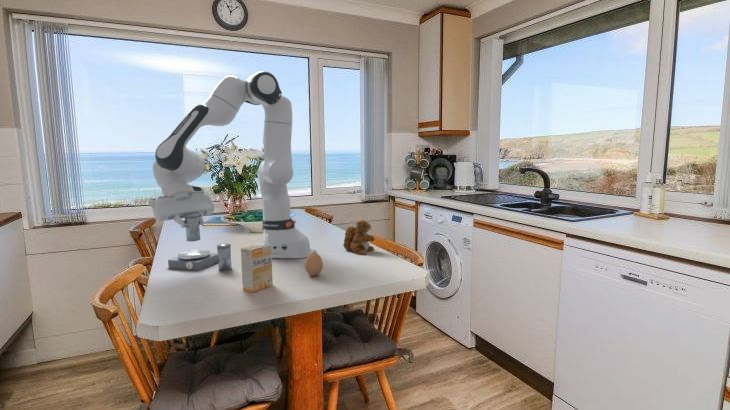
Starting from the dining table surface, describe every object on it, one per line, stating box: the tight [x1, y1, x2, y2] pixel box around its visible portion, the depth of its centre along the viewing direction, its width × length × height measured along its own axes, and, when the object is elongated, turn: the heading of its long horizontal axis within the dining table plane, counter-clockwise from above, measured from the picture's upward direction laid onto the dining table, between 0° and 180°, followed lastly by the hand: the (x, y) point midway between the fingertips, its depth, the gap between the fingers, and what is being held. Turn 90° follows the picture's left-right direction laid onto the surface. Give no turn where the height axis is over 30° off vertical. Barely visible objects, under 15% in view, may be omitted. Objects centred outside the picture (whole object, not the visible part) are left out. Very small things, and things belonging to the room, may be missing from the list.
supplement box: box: [240, 242, 274, 293], centre depth 116 cm, size 8×5×13 cm, turn 148°
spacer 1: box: [184, 213, 201, 242], centre depth 132 cm, size 5×5×9 cm
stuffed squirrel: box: [342, 219, 375, 256], centre depth 160 cm, size 10×14×13 cm
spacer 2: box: [216, 242, 233, 272], centre depth 136 cm, size 5×5×9 cm
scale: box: [167, 252, 218, 271], centre depth 143 cm, size 13×13×3 cm
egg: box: [304, 252, 324, 277], centre depth 128 cm, size 6×6×8 cm
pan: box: [177, 249, 211, 260], centre depth 143 cm, size 11×11×1 cm
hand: (193, 225), depth 132 cm, fingers closed on spacer 1, 4 cm apart
